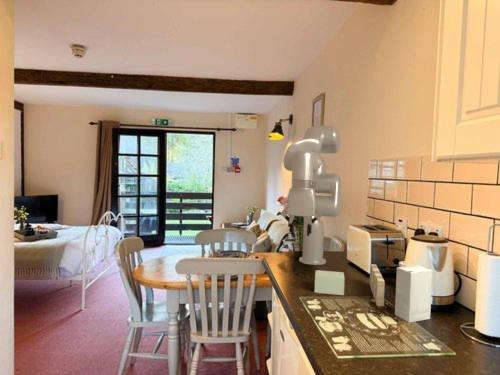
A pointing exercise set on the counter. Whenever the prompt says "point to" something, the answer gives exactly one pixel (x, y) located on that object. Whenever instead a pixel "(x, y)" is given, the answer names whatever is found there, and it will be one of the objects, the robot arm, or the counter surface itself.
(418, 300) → the skincare box
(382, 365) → the counter surface
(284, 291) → the counter surface
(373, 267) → the birch board
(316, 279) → the sage block
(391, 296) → the counter surface
